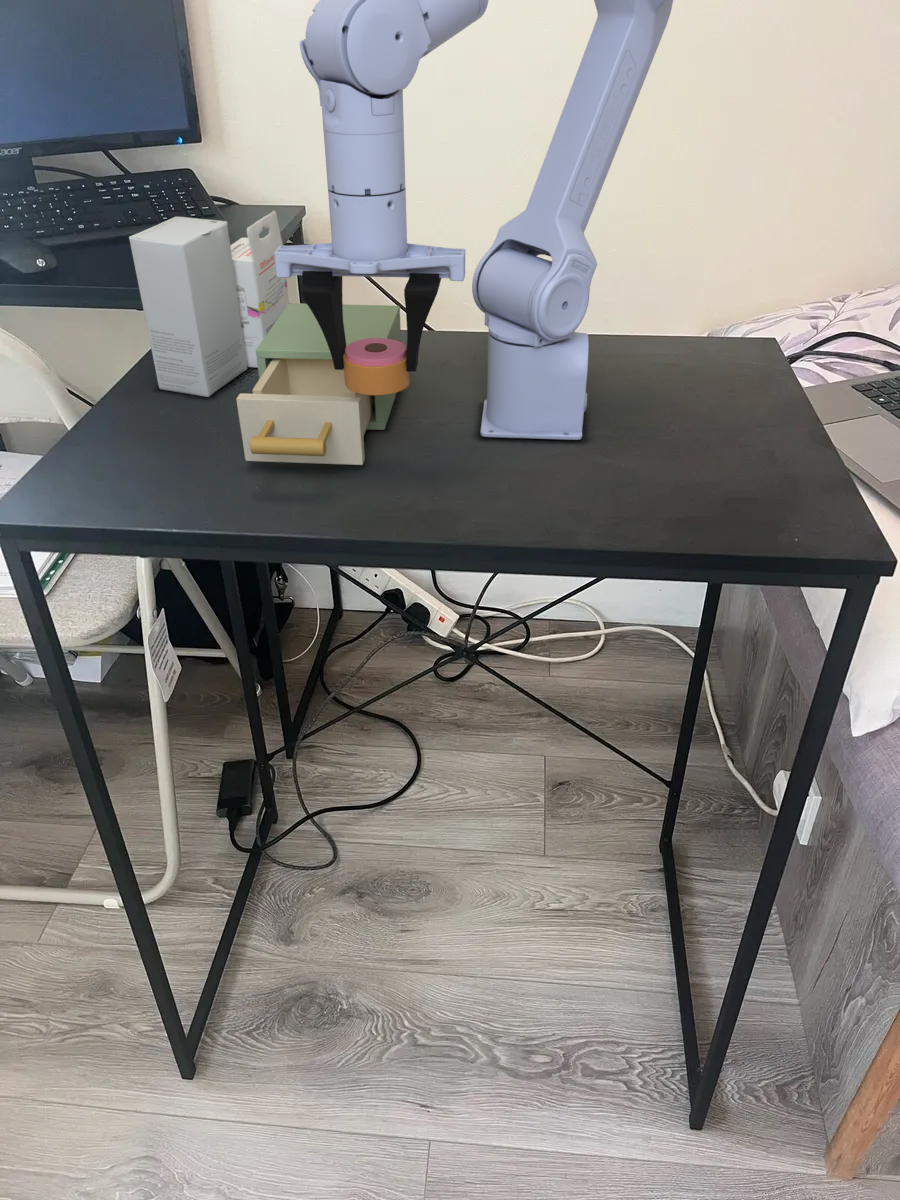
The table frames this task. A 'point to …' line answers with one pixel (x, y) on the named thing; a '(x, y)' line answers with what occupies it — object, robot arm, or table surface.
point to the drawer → (304, 415)
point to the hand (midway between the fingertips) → (376, 366)
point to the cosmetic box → (190, 304)
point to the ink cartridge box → (258, 283)
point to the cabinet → (306, 340)
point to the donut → (376, 366)
